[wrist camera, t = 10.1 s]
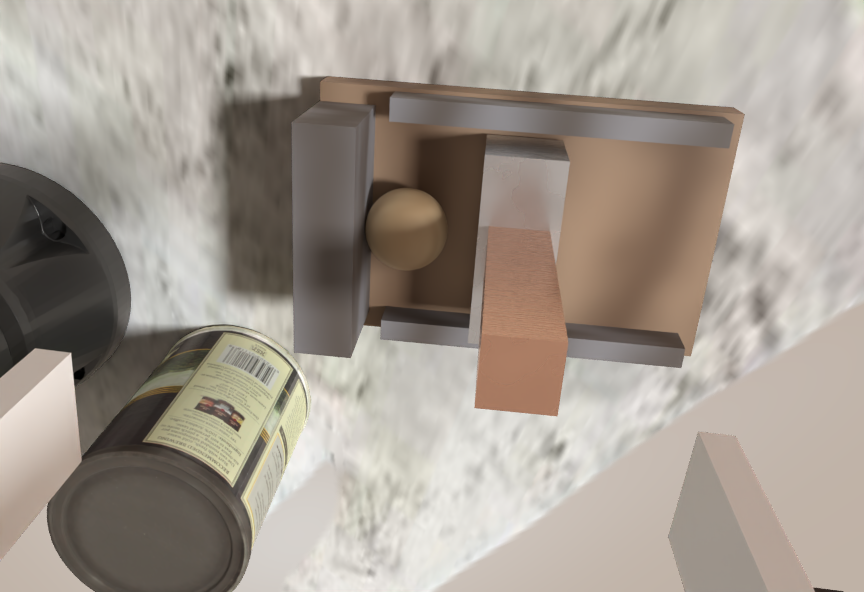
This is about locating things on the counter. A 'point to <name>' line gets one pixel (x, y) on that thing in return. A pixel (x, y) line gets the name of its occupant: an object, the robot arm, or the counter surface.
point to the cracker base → (460, 207)
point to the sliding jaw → (520, 276)
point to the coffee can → (185, 469)
